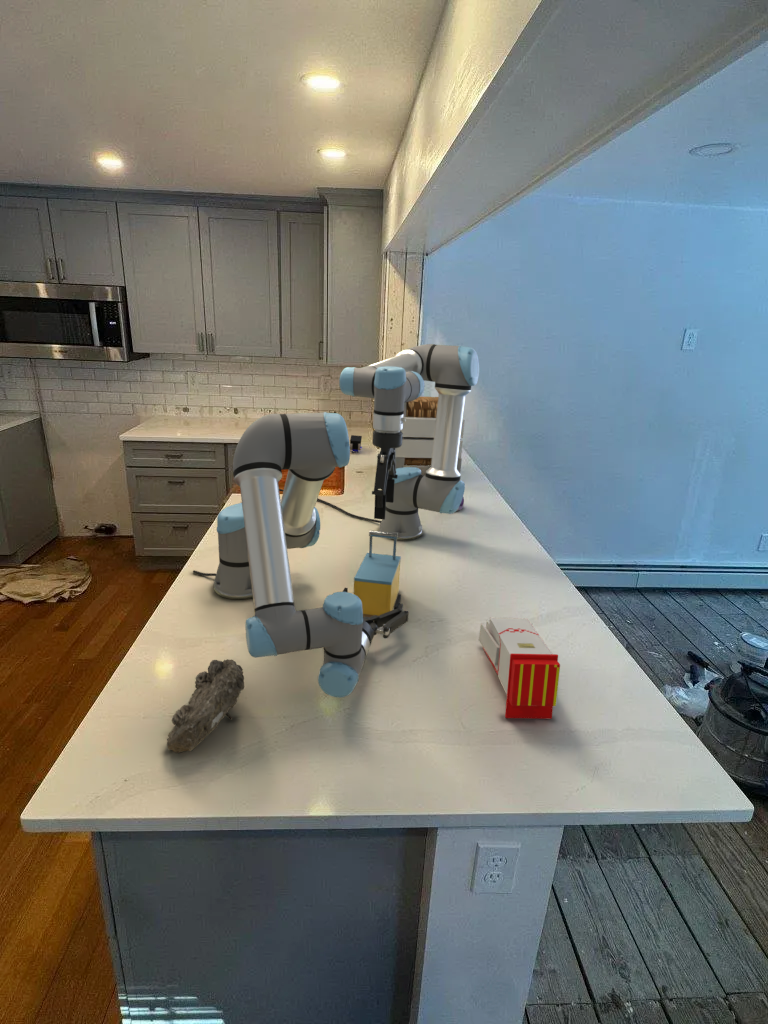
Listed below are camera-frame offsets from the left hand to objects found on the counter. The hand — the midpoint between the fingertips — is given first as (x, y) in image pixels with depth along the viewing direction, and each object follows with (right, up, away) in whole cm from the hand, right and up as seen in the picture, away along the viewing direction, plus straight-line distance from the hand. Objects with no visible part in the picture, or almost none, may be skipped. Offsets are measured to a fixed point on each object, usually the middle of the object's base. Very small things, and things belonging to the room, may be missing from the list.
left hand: (372, 595), depth 142 cm
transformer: (+20, +40, +133) cm, 140 cm away
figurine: (+31, +22, +86) cm, 94 cm away
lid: (+1, +6, +7) cm, 9 cm away
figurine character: (-13, +55, +169) cm, 178 cm away
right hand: (+3, +22, +7) cm, 23 cm away
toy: (+31, -15, -18) cm, 39 cm away
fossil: (-30, -18, -34) cm, 49 cm away
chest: (+1, -4, +10) cm, 11 cm away
